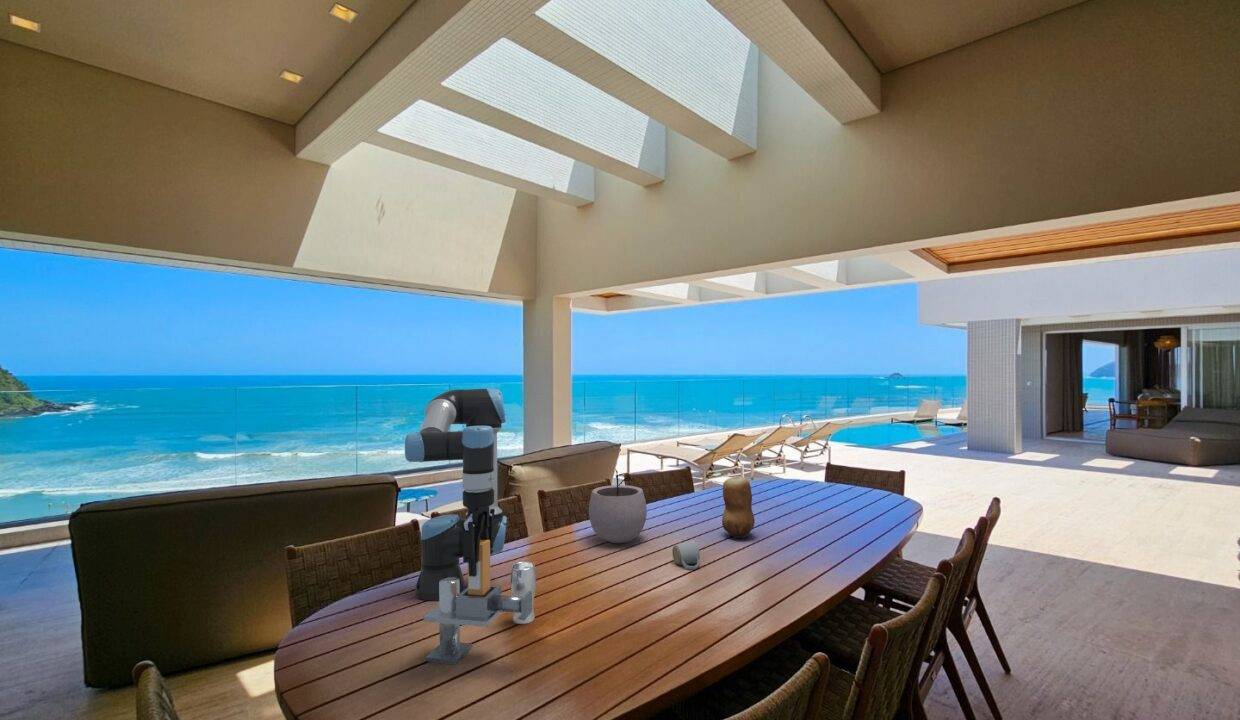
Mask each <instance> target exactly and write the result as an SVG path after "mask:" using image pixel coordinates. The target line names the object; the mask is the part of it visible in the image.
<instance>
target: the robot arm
mask: <svg viewBox="0 0 1240 720" xmlns="http://www.w3.org/2000/svg"><path fill="white" fill-rule="evenodd" d="M504 405H505V404H504V399H503V393H502V391H500V390H499V389H497V388H488V387H487V388H472V389H471V388H470V389H469V388H467V389H466V388H465V389H464V388H463V389H460V388H459V389H458V388H457V389H451V390H447V391H445V392H442V393H440V394H438V395H437V396H435V397H433V398H432V399H431V400H430V401H429V402H428V403H427V405H426V407H425V410H424V420H423V422H422V425H421V427H420V429H419V431H416V432H410V433H408V434H406V436H405V438H404V439H405V440H404V457H405V460H406V461H407V462H408V463H409V462H410V463H413V462H414V463H428V462H441V461H443V462H445V461H446V462H447V461H462V489H463V491H462V506H463V507H464V508H467V512H466V513H465V518H463V519H460V515H459V514H456V513H455V514H453V513H448V514H443V515H439V516H435V517H433V518H430V519H428V520H426V521H425V522H423V524H422V526H421V534H420V540H421V541H420V548H421V549H420V550H421V551H420V552H421V553H420V554H421V555H420V556H421V557H420V561H421V565H420V572H419V575H418V579H417V582H416V585H415V597H417V598H418V599H420V600H424V601H439V582H440V580H442V579H445V578H449V577H456V578H459V583H460V593H461V592H463V591H464V590H465V589H466V579H465V577H464V574H463V571H462V567H461V565H460V558H461V557H462V561H463V562H464V563H467V564H468V563H469V589H480V588H481V587H480V561H478V559H479V546H480V540H490V555H493V554H495V555H496V554H499V553H501V552H502V551H503V549H504V546H505V540H506V533H507V520H508V518H507V516H506V515H503V510H502V509H501V507H499V506H498V433H499V432H500V430H502V424H505V423H506V421H507V420H506V412H505V406H504ZM451 425H465V427H464V428H463V429H462V430H461V431H460V430H457V431H456V430H455V431H450V427H451Z"/></svg>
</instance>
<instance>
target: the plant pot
mask: <svg viewBox="0 0 1240 720" xmlns="http://www.w3.org/2000/svg"><path fill="white" fill-rule="evenodd" d="M613 472H614V474H616V475H615V479H616V484H615V485H613V484H612V485H604V486H600V487H596V488H594V489H592V490H591V495H590V499H589V504H588V517H589V522H590V524H591V528H592V530H593V532H594V533H595V534H596V536H598V537H599V538H600V539H602V540H603V541H605V542H607V543H611V544H625V543H628V542H630V541H632V540H634V539H635V538H636V537H638V536H640V534H641V533H642V531H643V529H644V526H645V523H646V522H647V521H646V520H647V515H648V511H647V510H648V509H647V502H646V501H647V500H646V498H645V495H644V494H645V493H644V490H643V489H642V488H641V487H640V486H639V487H638V486H634V485H625V484H624V485H622V484H623V482H626V480H627V478H628V476H626V477H625V478H624V479H623V480H621V482H620V483H619V476H623V475H625V474H626V473H625V472H623V473H619V472H618V470H617V469H616V468H615V471H613ZM618 473H619V474H618Z"/></svg>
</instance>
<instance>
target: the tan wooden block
mask: <svg viewBox="0 0 1240 720" xmlns="http://www.w3.org/2000/svg"><path fill="white" fill-rule="evenodd" d="M478 561H480V587H481V588H480V589H469V563H468V562H467V588H468V594H473V595H484V594H485V593H486V592H487V591H488V590H489V589H490V585H491V554H490V540H480V546H479V559H478Z"/></svg>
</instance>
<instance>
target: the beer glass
mask: <svg viewBox="0 0 1240 720" xmlns="http://www.w3.org/2000/svg"><path fill="white" fill-rule="evenodd" d="M536 576H537V575H536V564H535V563H534V562H531V561H520V562H515V563H514V564H511V570H510V589H511V596H519V597H524V595H525V594H526V593H527V592H528V591H532V612H531V614H530V615H529V616H528V617H527V618H526V620H525V621H522V620H521V613H512V614H513V615H512V616H513V617H512V622H513V623H514V624H518V625H527V624H529V623H532V622H533V621H534V620H535V618H536V617H535V612H534V599H535V593H536V585H537V583H536V582H537V577H536Z"/></svg>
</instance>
